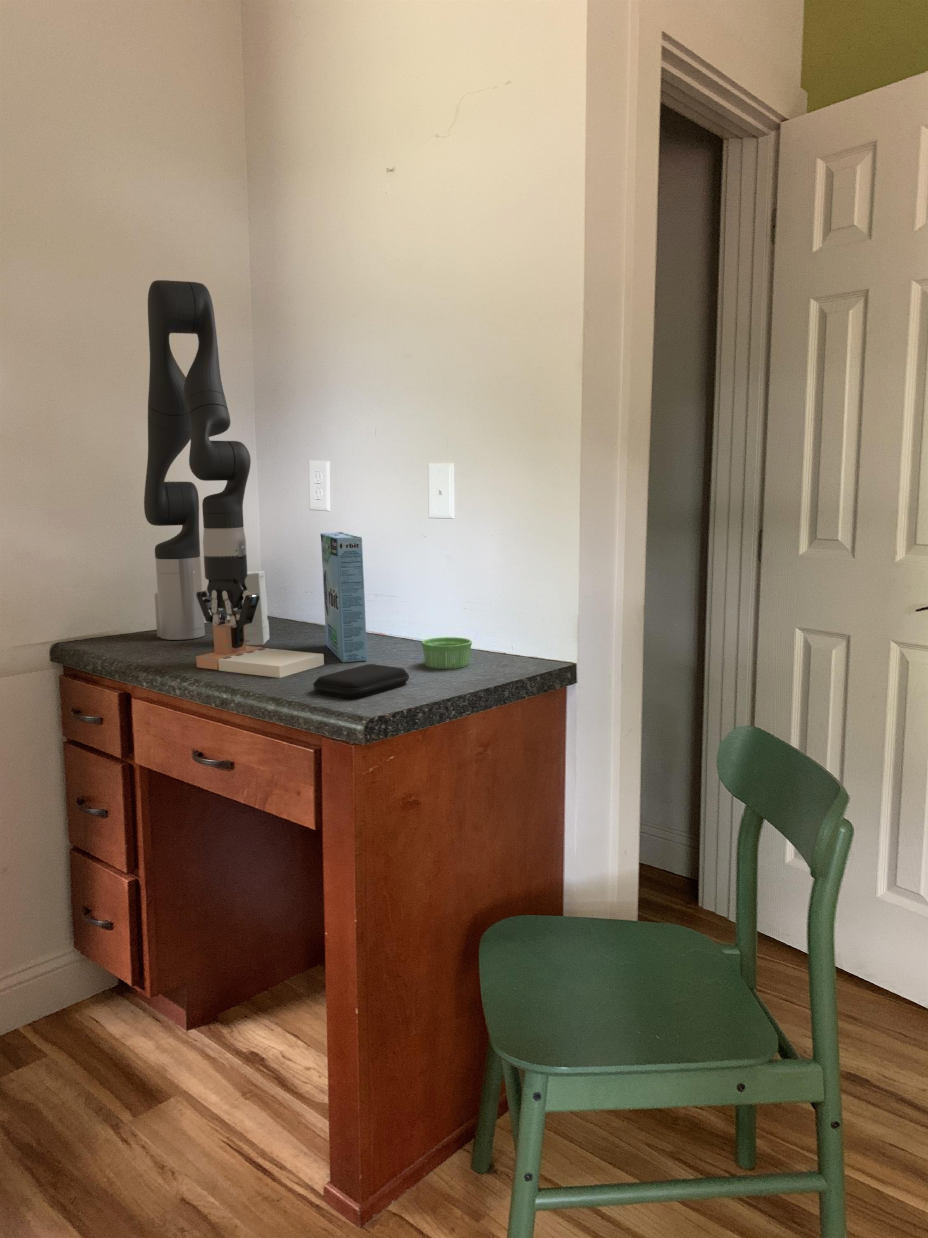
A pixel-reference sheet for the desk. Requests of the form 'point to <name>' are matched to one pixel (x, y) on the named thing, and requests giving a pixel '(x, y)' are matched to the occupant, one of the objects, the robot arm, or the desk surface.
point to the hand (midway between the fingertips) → (230, 646)
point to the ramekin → (447, 652)
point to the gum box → (344, 596)
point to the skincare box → (257, 610)
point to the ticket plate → (271, 662)
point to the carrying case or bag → (361, 681)
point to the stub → (222, 648)
